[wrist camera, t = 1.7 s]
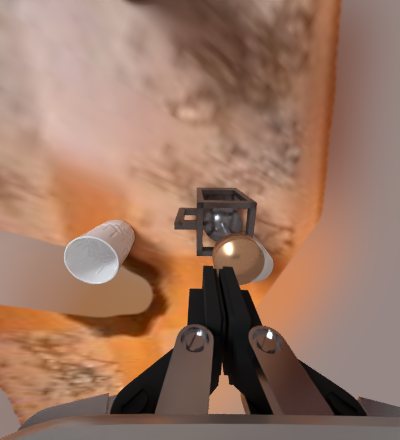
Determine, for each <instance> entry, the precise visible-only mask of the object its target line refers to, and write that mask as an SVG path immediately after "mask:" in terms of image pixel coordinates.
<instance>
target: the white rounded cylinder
mask: <svg viewBox="0 0 400 440" xmlns="http://www.w3.org/2000/svg"><path fill="white" fill-rule="evenodd" d="M241 233H243V234H245V233H246V232H241ZM253 239H254V240H255V242H256V243H257V244H258V246H259V247H260V249H261V250H262V252H263V254H264V257H265V264H264V268H263V270H262V272H261V274H260V275H259V276H258V277H257V278H256V279H255V280H253V281H251V282H259V281H262V280H264V279H266V278H267V277H268V276H269V275H270V274H271V272H272V270H273V266H274V263H273V259H272V257H271V256H270V255H269V253H268V252H267V251H266V249H265V248H264V247H263V246H262V244H261V243H260V242H259V240H258V239H257V238H256V237H255V236H254V235H253Z"/></svg>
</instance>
